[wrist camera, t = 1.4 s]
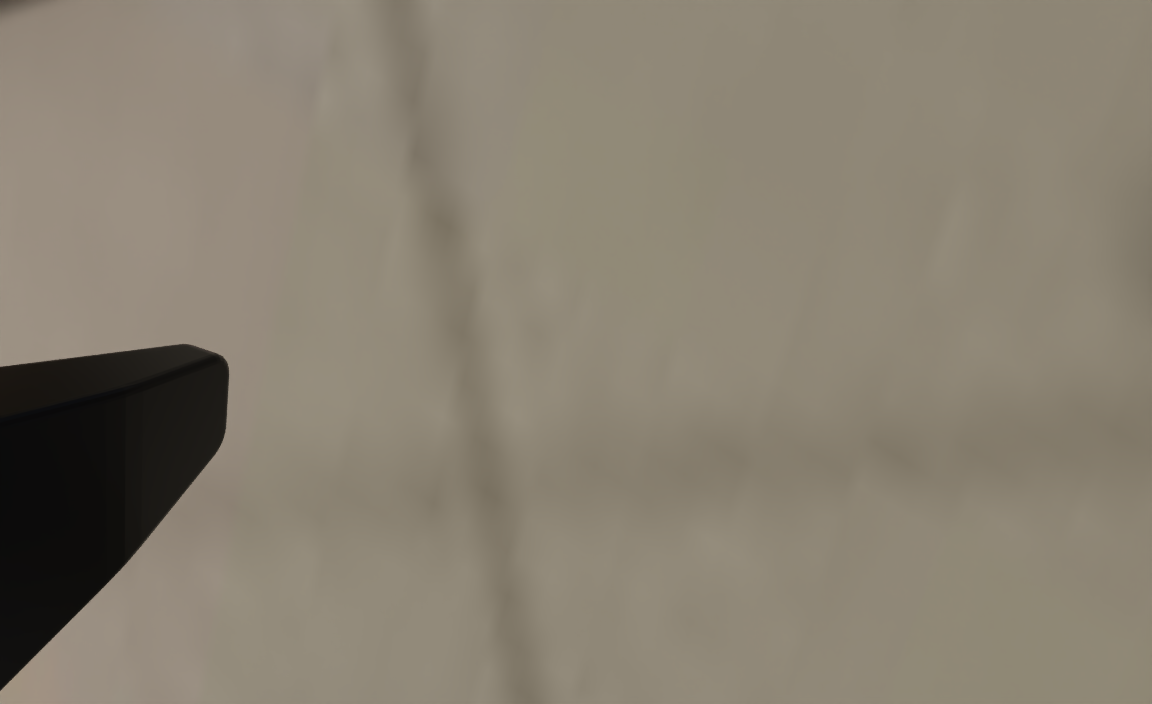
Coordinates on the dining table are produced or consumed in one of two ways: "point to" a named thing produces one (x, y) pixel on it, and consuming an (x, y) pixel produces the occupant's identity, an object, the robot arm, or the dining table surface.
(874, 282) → the dining table surface
